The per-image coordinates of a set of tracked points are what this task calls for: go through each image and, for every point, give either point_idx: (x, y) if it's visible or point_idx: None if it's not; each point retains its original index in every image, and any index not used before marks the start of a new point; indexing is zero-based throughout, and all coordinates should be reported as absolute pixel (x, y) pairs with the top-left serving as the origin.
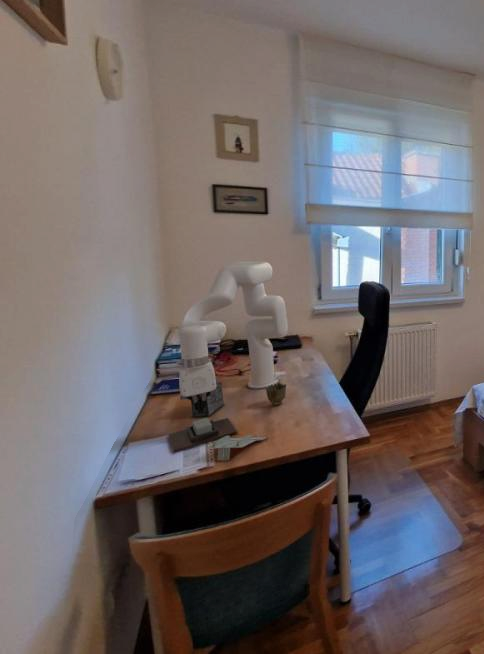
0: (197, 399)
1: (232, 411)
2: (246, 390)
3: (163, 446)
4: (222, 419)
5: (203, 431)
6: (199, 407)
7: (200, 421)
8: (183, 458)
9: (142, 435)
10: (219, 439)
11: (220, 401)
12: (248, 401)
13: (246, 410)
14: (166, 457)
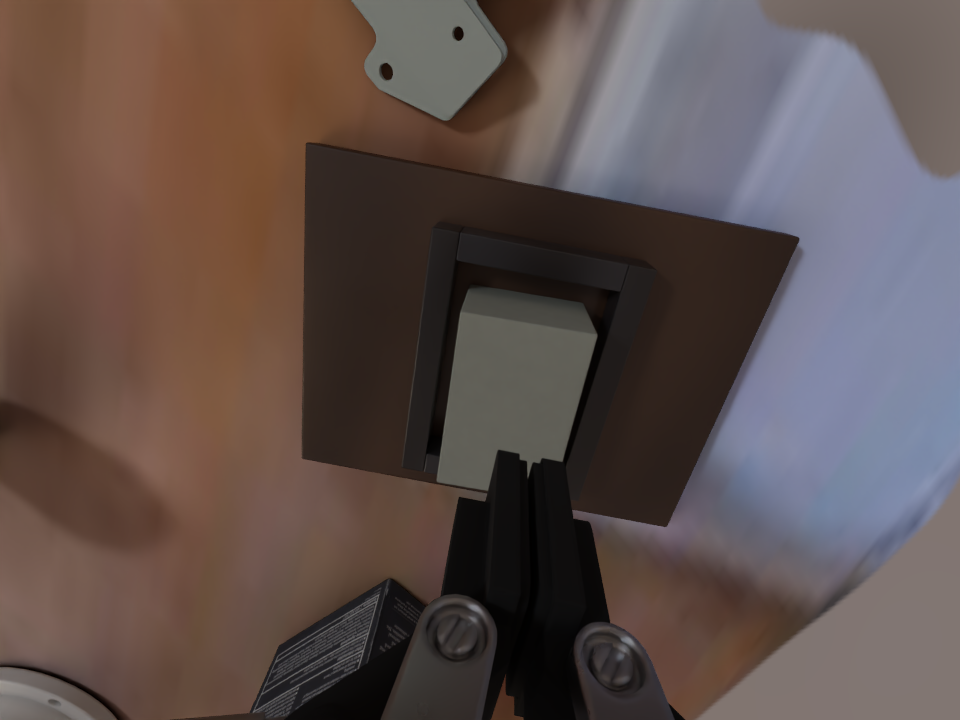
0: (581, 679)
1: (256, 541)
2: (141, 707)
3: (754, 409)
4: (337, 462)
5: (535, 307)
6: (551, 510)
7: None
8: (811, 39)
9: (729, 632)
10: (473, 88)
11: (281, 673)
12: (148, 590)
13: (176, 489)
14: (859, 203)
